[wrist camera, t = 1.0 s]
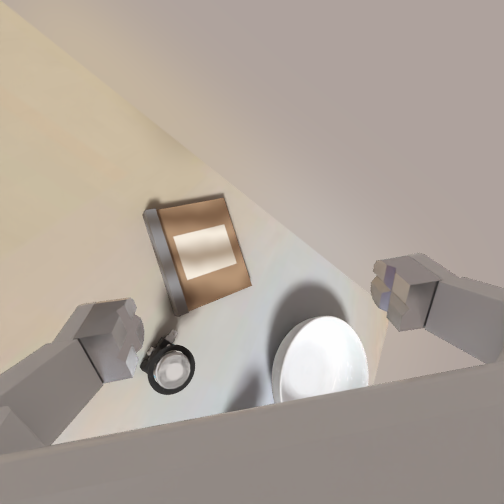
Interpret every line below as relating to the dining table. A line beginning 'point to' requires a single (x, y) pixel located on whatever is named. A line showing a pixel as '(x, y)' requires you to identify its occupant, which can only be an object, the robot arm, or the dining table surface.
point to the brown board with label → (196, 253)
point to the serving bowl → (318, 360)
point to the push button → (169, 366)
